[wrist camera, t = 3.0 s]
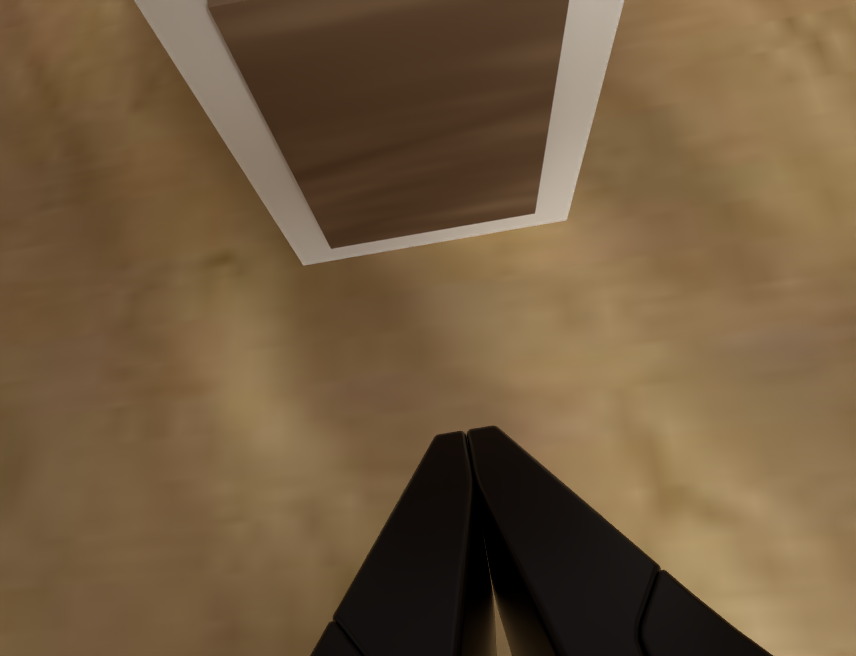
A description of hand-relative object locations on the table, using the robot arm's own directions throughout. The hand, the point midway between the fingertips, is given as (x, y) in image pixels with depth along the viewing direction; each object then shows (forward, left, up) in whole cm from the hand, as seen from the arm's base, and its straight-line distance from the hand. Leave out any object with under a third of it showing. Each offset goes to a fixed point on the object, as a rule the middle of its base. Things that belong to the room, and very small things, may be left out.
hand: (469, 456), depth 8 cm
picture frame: (+4, +12, -13) cm, 19 cm away
